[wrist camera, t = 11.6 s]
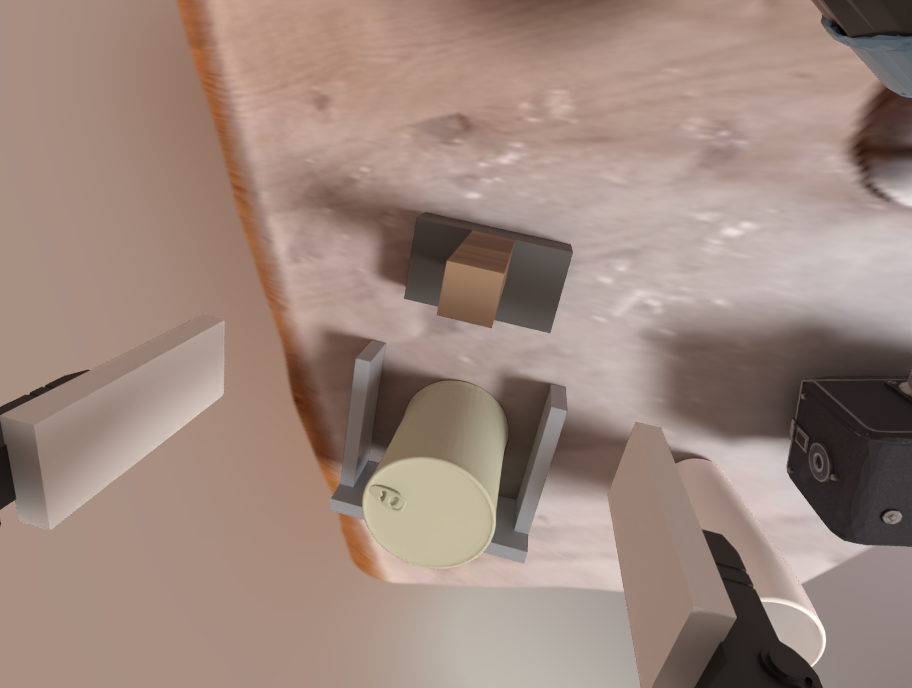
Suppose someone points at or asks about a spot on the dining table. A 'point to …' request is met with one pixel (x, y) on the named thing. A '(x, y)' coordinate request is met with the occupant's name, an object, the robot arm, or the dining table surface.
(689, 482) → the drinking glass
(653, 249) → the dining table surface
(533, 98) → the dining table surface
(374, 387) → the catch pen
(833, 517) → the camera
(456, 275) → the scraper
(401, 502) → the can
